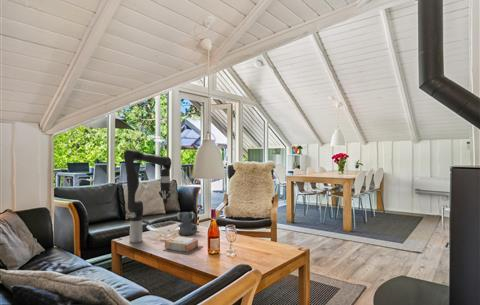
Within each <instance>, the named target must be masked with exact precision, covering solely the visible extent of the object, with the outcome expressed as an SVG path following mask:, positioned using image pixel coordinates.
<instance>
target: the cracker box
mask: <svg viewBox="0 0 480 305" xmlns="http://www.w3.org/2000/svg"><path fill="white" fill-rule="evenodd" d="M166 240H167V241H164V250H165V249H171V250H178V251H184V252H188V251H190V250H192V249H194V248H196V247H198V246H199V239H198V238H190V237H183V236H174V237H172V238H169V239H166Z"/></svg>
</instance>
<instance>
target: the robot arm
mask: <svg viewBox="0 0 480 305" xmlns="http://www.w3.org/2000/svg"><path fill="white" fill-rule="evenodd" d="M123 158H124V164H125V171H126V186H127V210H128V212H129V213H133V215H131V216H130V218H129V220H130V222H129V226H130V227H129V231H128V232H129V242H130V243H134V244H135V243H136V244H137V243H141V242H142V241H143V216H144V203H143V202H142V200H140V199H138V200H137V199H136V193H137V192H138V191H137V190H138V188H139V185H140V178H139V173H138V172H137V171H136V169H135V165H134V161H143V162H146V163H149V164H155V165H158V166H162V168H161V170H160V184H159V185H160V190H159V191H158V195H159V196H160V198H161V199H163V202H162V203H163V204H164V205H166V204H168V199H170V198H171V197H172V195H173V191H171V189H170V188H171V174H170V170H171V167H172V160H171V157H169V156H160V155H158V154H151V153H145V152H141V151H138V150H136V149H126V150H125V151H124V153H123Z"/></svg>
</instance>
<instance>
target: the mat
mask: <svg viewBox="0 0 480 305" xmlns="http://www.w3.org/2000/svg"><path fill="white" fill-rule="evenodd" d="M202 248H204V246H203V245H198V247H196V248H194V249H192V250H190V251H188V252H184V251H178V250H171V249H165V248H164V249H163V252H168V253H169V252H170V253H174V254H181V255H187V256H189V255H190V254H192V253H195V252H196V251H198V250H200V249H202Z"/></svg>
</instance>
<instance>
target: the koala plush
mask: <svg viewBox="0 0 480 305" xmlns="http://www.w3.org/2000/svg"><path fill="white" fill-rule="evenodd" d="M176 215H177V216H176V217H177V219H178V220H179V221H181V222H180V223H179V224H178V225H177V226H178V227H180V230H179V229H178V234H179V235H182V236H189V235H190V236H191V235H194V234H195V233H196V232H197V230H198V225H197V223H193V222H192V220H193V218H194V217H195V213H194V211H190V212H186V211H185V212H177V214H176ZM178 227H177V228H178Z"/></svg>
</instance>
